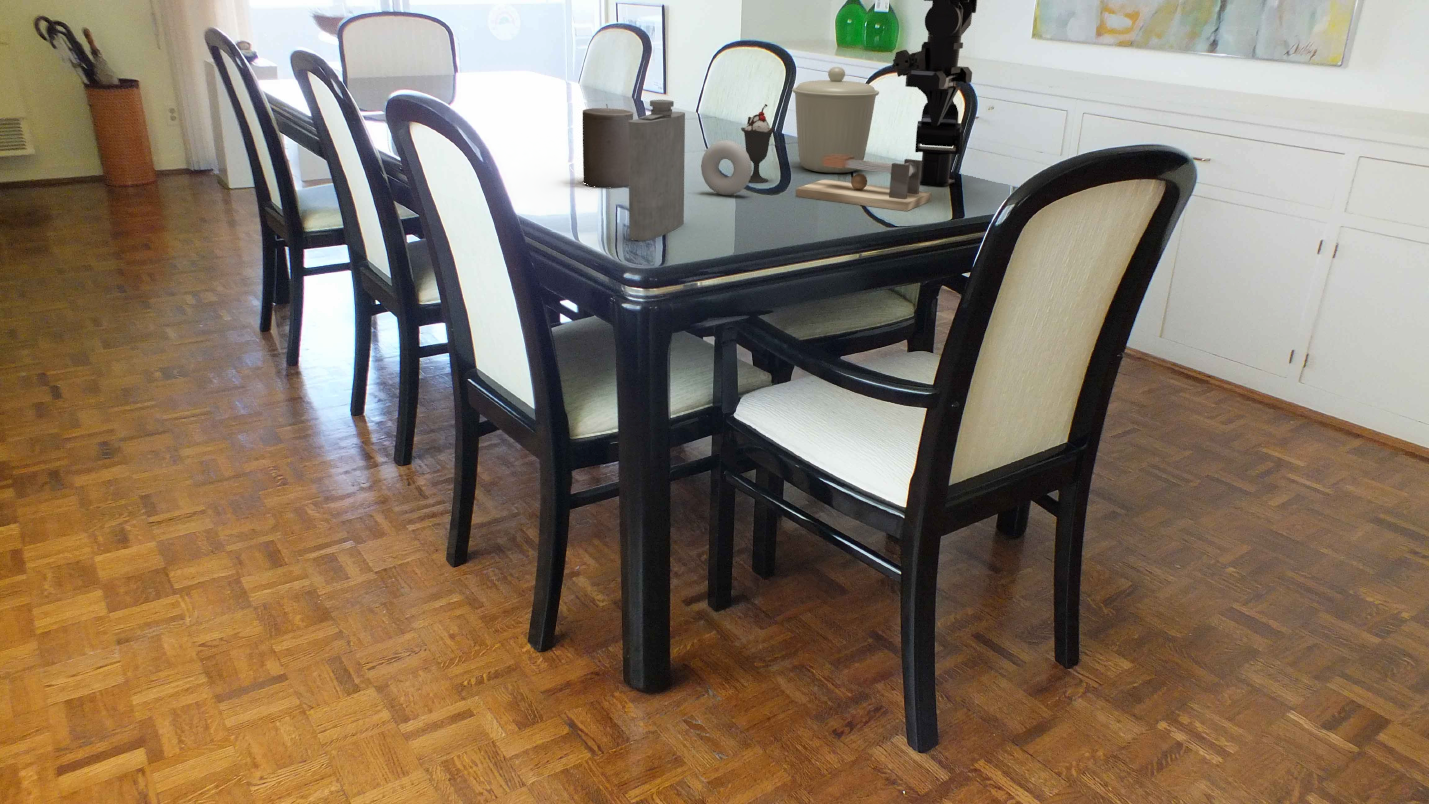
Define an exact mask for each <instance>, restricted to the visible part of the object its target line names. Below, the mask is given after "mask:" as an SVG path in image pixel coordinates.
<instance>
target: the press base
mask: <svg viewBox="0 0 1429 804" xmlns="http://www.w3.org/2000/svg"><path fill="white" fill-rule="evenodd" d="M903 161H904V163H898V162H897V163H896V162H893V163H891V164H892V168H891V173H890V182H889V186H888V187H887V186H880V185H872V184H868V178H867V176H866V175H865V174H863V173H861V172H860V173H856V174H854V175H852V177H851V179H850V182H848V181H839V180H832V179H831V180H830V179H826V178H825V179H821V180H819V181H815V182H811V183H808V184H806V185H802V186H799V187H796V188H795V197H797V198H804V199H813V200H819V201H820V200H821V201H826V202H835V203H842V204H849V205H850V204H851V205H857V206H865V207H873V208H879V209H886V210H888V209H889V210H895V211H904V212H908V211H910V210H913V209H915V208H917V207H919V206H922V205H925V204H927V203H928V202H931V201H932V192H930V191H921V190H920V187H921V184H920V177H921V167H922V159H921V160H919V159H913V158H912V159H911V158H906V159H904V160H903ZM909 162H913V163H915V164H916V166H917V172H916V174H914V175H912V176H910V177H909V169H910V165H908V164H906V163H909Z"/></svg>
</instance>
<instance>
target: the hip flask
mask: <svg viewBox="0 0 1429 804" xmlns="http://www.w3.org/2000/svg"><path fill="white" fill-rule="evenodd" d="M674 103H675V100H671V99H670V100H669V99H652V100H651V99H650V100H649V107H651V108H652V109H650V114H649V113H648V114H645V115H643V116H640V117H638V118H637V119H636V118H635V119H633V120H629V121H628V131H629V186H628V216H629V217H628V225H629V226H628V227H629V228H628V229H629V231H628V233H629V234H628V235H629V236H628V237H629V238H630V239H633V240H632V241H634V240H638V241H637V242H645V241H644V240H646V241H649V240H652V239H656V238H659V237H661V236H664V235H667V234H669V233H671V232H672V231H675V230H677V229H678V228H680V227H681V226H682V225H684V223H685V219H684V217H685V153H686V152H685V149H686V147H685V146H686V143H685V139H686V134H685V133H686V112H684V111H674V110H673V107H674ZM630 239H629V240H630Z"/></svg>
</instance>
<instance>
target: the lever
mask: <svg viewBox="0 0 1429 804" xmlns="http://www.w3.org/2000/svg"><path fill="white" fill-rule="evenodd" d="M906 164H908V165H910V169H909V177H910V176H912V175H914V174H916V172H917V166H916V164H915V163H913V162H909V163H906ZM822 166H830V167H838V168H844V167H848V168H855V169H857V170H863V171H865V170H866V171H873V172H879V173H887V174H891V168H892V163H884V162H879V161H869V160H855V159H854V156H850V155H842V154H831V155H828V156H824V157H823V165H822Z"/></svg>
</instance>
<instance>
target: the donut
mask: <svg viewBox="0 0 1429 804" xmlns="http://www.w3.org/2000/svg"><path fill="white" fill-rule="evenodd" d="M723 160H729V161H730V163H731V164H732V166H733V173H731V175H730V176H725V175H723V174H722V173H721V170H720V163H721V162H722V161H723ZM752 168H753V167H752V161H751V160H750V158H749V155H748V153H747V152H746V148H744V147H743V146H742V145H740V144H739V143H737V142H736V141H732V140H729V139H726V140H718V141H716V142H714V143H711V145H710V146H709V147H708V148H707V149H706V150H705V151H704V153H703V156H702V158H701V164H700V169H701V176H702V178H703V180H704V183H705V184H706V185H707V187H709V189H711V191H713V192H715V193H716V194H719V195H722V196H734V195H735V194H738V193H741V192H742V191H743V190H744V188H745V187H747V186H748V184H749V183H750V182H749V180H750V178H751V175H752V173H753V169H752Z"/></svg>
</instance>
